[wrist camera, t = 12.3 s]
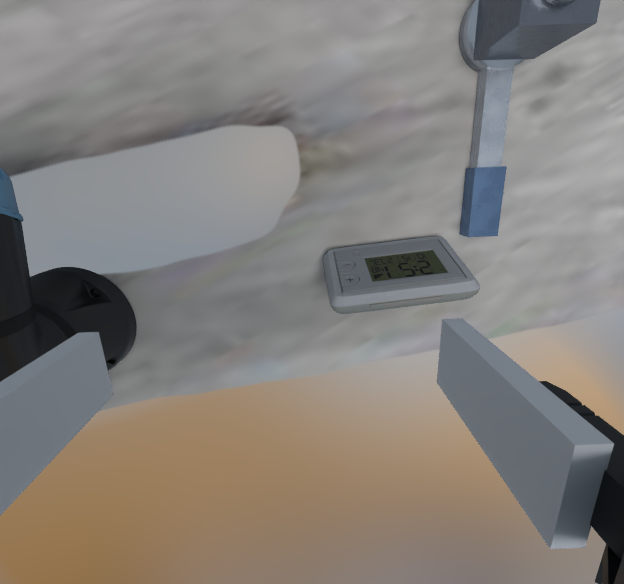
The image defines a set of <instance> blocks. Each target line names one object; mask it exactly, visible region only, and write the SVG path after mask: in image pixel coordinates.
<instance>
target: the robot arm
mask: <svg viewBox="0 0 624 584" xmlns="http://www.w3.org/2000/svg"><path fill="white" fill-rule="evenodd" d="M22 221H23V217H22V216H21V214H19V211H18V207H17V203H16V198H15V194H14V190H13V186H12V182H11V180H10V178H9V176H8V175H7V174H6V173H5V172H4V171H3V170H2V169H1V168H0V515H1V514H2V513H3V512H4V511H5V510H6V509H7V508H8V507H9V506H10V505H11V504H12V503H13V501H14V500H15V499H16V498H17V497H18V496H19V495H20V494H21V493H22V491H24V490H25V489H26V487H28V485H29V484H30V483H31V482H32V481H33V480H34V479H35V478H36V477H37V476H38V475H39V474H40V473H41V472H42V471H43V469H44V468H45V467H46V466H47V465H48V464H49V463H50V462H51V461H52V460H53V459H54V458H55V456H56V455H57V454H58V453H59V452H60V451H61V450H62V449H63V448H64V447H65V446H66V445H67V444H68V442H70V441H71V440H72V438H73V437H74V436H75V435H76V434H77V433H78V432H79V431H80V430H81V429H82V427H84V426H85V424H86V423H87V422H88V421H89V420H90V419H91V418H92V417H93V416H94V415H95V414H96V413H97V412H98V411H99V410H100V409H101V408H102V406H103V405H104V404H105V403H106V402H107V401H108V400H109V399H110V398H111V397H112V396H113V391H112V386H111V382H110V378H109V374H108V370H110V369H111V368H113V367H114V366H115V365H116V364H118V363H119V362H120V361H121V360H122V359H123V358H124V357H125V356H126V355H127V354H128V352H129V351H130V349H131V347H132V345H133V343H134V340H135V335H136V322H135V317H134V313H133V310H132V308H131V306H130V304H129V302H128V300H127V299H126V297H125V296H124V295H123V293H122V292H121V291H120V290H119V289H118V288H117V287H116V286H115V285H114V284H113V283H111V282H110V281H109V280H107V279H106V278H104V277H102V276H100V275H98V274H96V273H94V272H91V271H89V270H85V269H81V268H75V267H61V268H55V269H52V270H49V271H46V272H42V273H39V274H37V275H34V276H32V277H31V278H30V276H29V269H28V263H27V256H26V250H25V244H24V237H23V230H22V223H21V222H22ZM437 383H438V384H439V386H440V388H441V389H442V391H443V392H444V394H445V395H446V396H447V398H448V399H449V401H450V402H451V404H452V405H453V407H454V408H455V410H456V411H457V413H458V414H459V416H460V417H461V418H462V420H463V421H464V423H465V424H466V426H467V427H468V428H469V430H470V432H471V433H472V435H473V436H474V438H475V439H476V441H477V442H478V443H479V445H480V446H481V448H482V449H483V451H484V452H485V454H486V455H487V456H488V458H489V460H490V461H491V463H492V464H493V465H494V467H495V468H496V470H497V471H498V473H499V474H500V476H501V477H502V478H503V480H504V481H505V483H506V484H507V486H508V487H509V489H510V490H511V492H512V493H513V494H514V496H515V498H516V499H517V501H518V502H519V504H520V505H521V507H522V508H523V510H524V511H525V512H526V514H527V515H528V517H529V518H530V520H531V521H532V523H533V524H534V526H535V527H536V528H537V530H538V532H539V533H540V534H541V536H542V537H543V539H544V540H545V542H546V543H547V545H548V546H549V548H550V549H561V548H582V547H583V548H584V547H585V546H586V543H587V539H588V535H589V532H590V528H591V526H592V527H593V528H594V530H595V531H596V532H597V533H598V534H599V536H600V537H601V538H602V539H603V540H604V541H605V543H606V547H605V550H604V553H603V556H602V560H601V563H600V566H599V570H598V573H597V576H596V579H595V582H596V583H598V584H602V583H603V584H624V435H622V434H621V433H620V432H618V431H617V430H616V429H614V428H613V427H612V426H611V425H609V424H608V423H607V422H605V421H604V420H603V419H602V418H600V417H599V416H595V414H594V412H593V411H591V410H590V409H589V408H587V407H586V406H585V405H582V404H581V402H580V401H578V400H577V399H576V398H574V397H573V396H572V395H571V394H569V393H568V392H566V391H565V390H563V389H561V388H559V387H557V386H555V385H553V384H551V383H549V382H547V381H538V380H536V379H535V378H534V377H533V376H531V375H530V374H529V373H528V372H527V371H525V370H524V369H523V368H522V367H520V366H519V365H518V364H517V363H516V362H514V361H513V360H512V359H511V358H509V357H508V356H507V355H506V354H505V353H504V352H502V351H501V350H500V349H499V348H497V347H496V346H495V345H494V344H493V343H491V342H490V341H489V340H488V339H487V338H485V337H484V336H483V335H482V334H480V333H479V332H478V331H477V330H476V329H474V328H473V327H472V326H471V325H470V324H468V323H467V322H466V321H465V320H463V319H442V329H441V340H440V353H439V363H438V375H437Z"/></svg>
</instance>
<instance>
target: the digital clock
mask: <svg viewBox="0 0 624 584" xmlns="http://www.w3.org/2000/svg"><path fill="white" fill-rule="evenodd" d="M323 264H324V270H325V276H326V283H327V289H328V295H329V300H330V304H331V307H332V308H333V310H334V311H336V312H337V313H340V314H347V313H357V312H366V311H375V310H383V309H391V308H400V307H408V306H416V305H424V304H433V303H441V302H449V301H456V300H464V299H468V298H471V297H472V296H474V295H476V294H477V293H478V291H479V289H480V285H479V283H478V281H477V280H476V279H475V277H474V276H473V274H472V273H471V272H470V271H469V269H468V268H467V267H466V265H465V264H464V263H463V262H462V260H461V259H460V258H459V257H458V255H457V254H456V253H455V251H454V250H453V249H452V248H451V246H450V245H449V244H448V242H447V241H446V240H445V239H444V238H443V237H440V236H433V237H424V238H415V239H407V240H399V241H391V242H383V243H375V244H367V245H359V246H351V247H343V248H336V249H331V250H329V251H328V252H327V253H326V254H325V255H324V256H323Z"/></svg>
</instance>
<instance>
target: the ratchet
mask: <svg viewBox="0 0 624 584" xmlns="http://www.w3.org/2000/svg"><path fill="white" fill-rule="evenodd" d="M478 3H479V0H475V1H474V2H473V3H472V4H471V6H470V7H469V8H468V10H467V12H466V13H465V15H464V17H463V20H462V23H461V26H460V32H459V46H460V50H461V53H462V56H463V58H464V60H465V61H466V63H467V64H468V65H469V66H470V67H471V68H472V69H473V70H475V71H476V72H478V73H479V75H478V85H477V95H476V105H475V116H474V126H473V136H472V146H471V156H470V166H469V168H468V169H466V174H465V184H464V195H463V205H462V216H461V226H460V235H463V236H467V237H480V236H498V228H499V220H500V212H501V205H502V197H503V189H504V181H505V174H506V167H501V163H502V155H503V147H504V139H505V131H506V123H507V115H508V107H509V99H510V91H511V83H512V75H513V67H514V66H515V65H516V64H518V63H520V62H521V61H523V60H524V59H509V60H475V61H473V56H474V46H475V35H476V24H477V14H478Z"/></svg>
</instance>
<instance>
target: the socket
mask: <svg viewBox="0 0 624 584" xmlns="http://www.w3.org/2000/svg"><path fill="white" fill-rule="evenodd" d="M599 6H600V0H479V3H478V14H477V24H476V35H475V46H474V56H473V61H475V60H509V59H534V58H536V57H538V56H540V55H541V54H543V53H545V52H547V51H548V50H550V49H552V48H554V47H555V46H557V45H559V44H561V43H562V42H564V41H566V40H568V39H569V38H571V37H573V36H575V35H576V34H578V33H580V32H582V31H583V30H585V29H587V28H589V27H590V26H592V25H594V24H596V22H597V17H598V11H599Z"/></svg>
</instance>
